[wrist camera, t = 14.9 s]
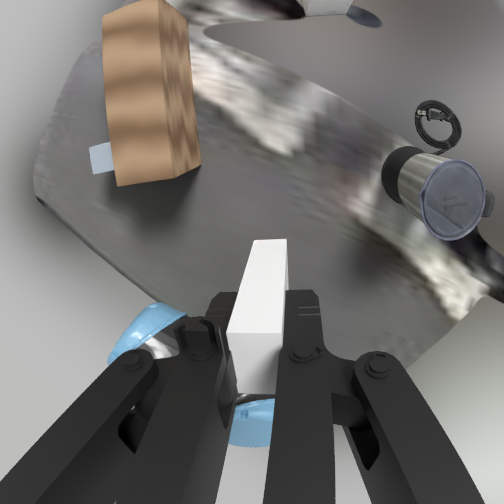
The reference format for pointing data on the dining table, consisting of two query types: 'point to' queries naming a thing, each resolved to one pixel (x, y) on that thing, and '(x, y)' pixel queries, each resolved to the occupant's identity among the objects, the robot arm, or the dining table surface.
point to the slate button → (101, 158)
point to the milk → (325, 7)
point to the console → (149, 93)
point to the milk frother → (437, 181)
